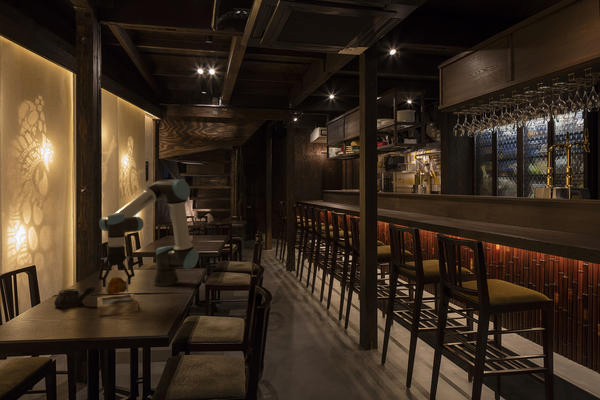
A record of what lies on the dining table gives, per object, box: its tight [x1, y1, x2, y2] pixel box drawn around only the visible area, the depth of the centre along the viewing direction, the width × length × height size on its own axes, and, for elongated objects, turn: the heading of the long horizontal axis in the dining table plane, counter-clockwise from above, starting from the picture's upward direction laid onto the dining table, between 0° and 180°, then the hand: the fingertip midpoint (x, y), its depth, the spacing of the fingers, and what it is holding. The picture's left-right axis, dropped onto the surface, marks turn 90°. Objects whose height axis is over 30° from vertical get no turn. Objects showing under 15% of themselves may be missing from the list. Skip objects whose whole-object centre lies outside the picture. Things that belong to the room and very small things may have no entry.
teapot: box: [53, 285, 95, 309], centre depth 204 cm, size 19×15×10 cm
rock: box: [107, 276, 126, 296], centre depth 200 cm, size 11×8×10 cm
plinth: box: [97, 293, 139, 317], centre depth 199 cm, size 17×19×4 cm
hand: (116, 292), depth 199 cm, fingers closed on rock, 8 cm apart
